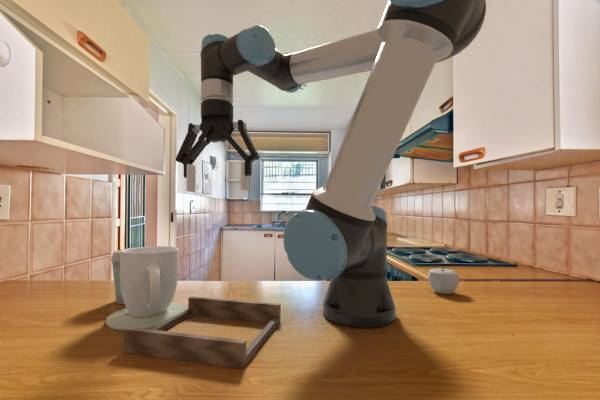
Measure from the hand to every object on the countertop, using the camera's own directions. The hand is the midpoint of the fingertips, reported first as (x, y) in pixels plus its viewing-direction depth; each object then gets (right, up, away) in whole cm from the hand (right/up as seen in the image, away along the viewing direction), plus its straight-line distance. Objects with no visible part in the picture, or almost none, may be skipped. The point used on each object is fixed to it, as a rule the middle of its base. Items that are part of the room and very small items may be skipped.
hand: (217, 191), depth 70 cm
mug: (-11, -26, -10) cm, 30 cm away
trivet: (-11, -26, -9) cm, 30 cm away
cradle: (+4, -26, -18) cm, 32 cm away
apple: (+59, -28, +10) cm, 66 cm away
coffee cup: (-21, -27, +1) cm, 34 cm away
